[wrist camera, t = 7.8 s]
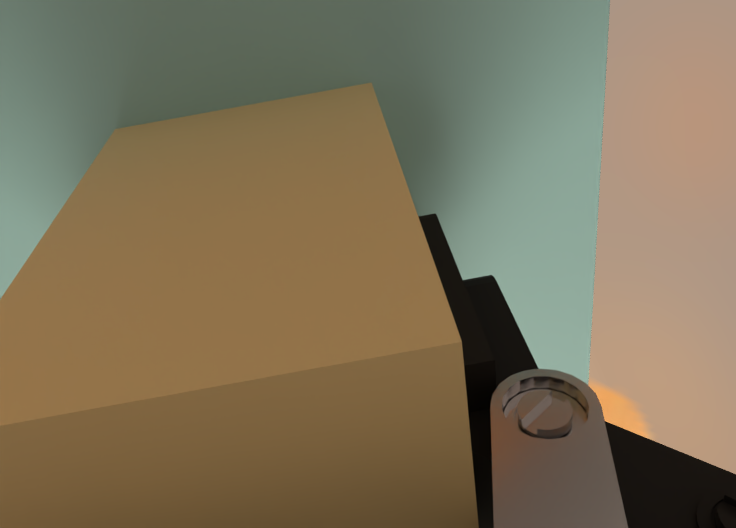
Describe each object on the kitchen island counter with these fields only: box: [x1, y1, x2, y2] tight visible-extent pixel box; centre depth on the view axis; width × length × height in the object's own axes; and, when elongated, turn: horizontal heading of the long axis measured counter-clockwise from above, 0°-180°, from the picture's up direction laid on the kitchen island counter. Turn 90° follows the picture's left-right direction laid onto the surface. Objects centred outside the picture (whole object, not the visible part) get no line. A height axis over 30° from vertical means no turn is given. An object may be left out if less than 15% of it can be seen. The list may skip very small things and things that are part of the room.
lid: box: [0, 0, 610, 528], centre depth 11 cm, size 15×13×9 cm
